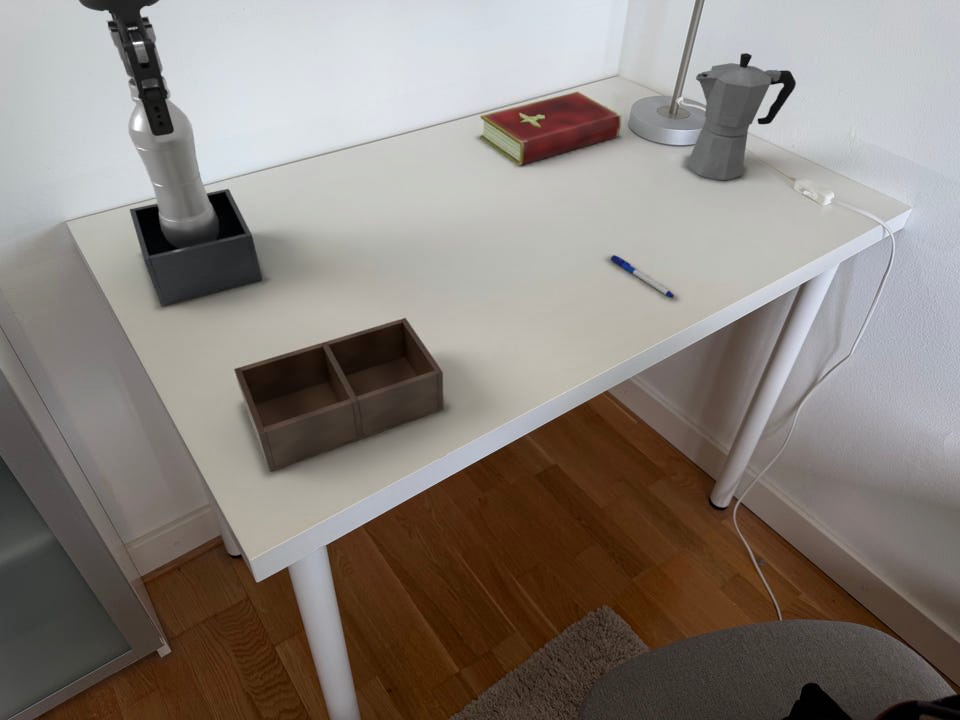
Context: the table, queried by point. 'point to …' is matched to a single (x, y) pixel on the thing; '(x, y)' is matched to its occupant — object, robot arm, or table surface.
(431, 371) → the divided box
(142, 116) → the silver metal bottle
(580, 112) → the hardcover book
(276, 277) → the table surface
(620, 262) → the ballpoint pen
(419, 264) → the table surface
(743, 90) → the coffeepot
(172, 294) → the dark grey open box
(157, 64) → the robot arm
